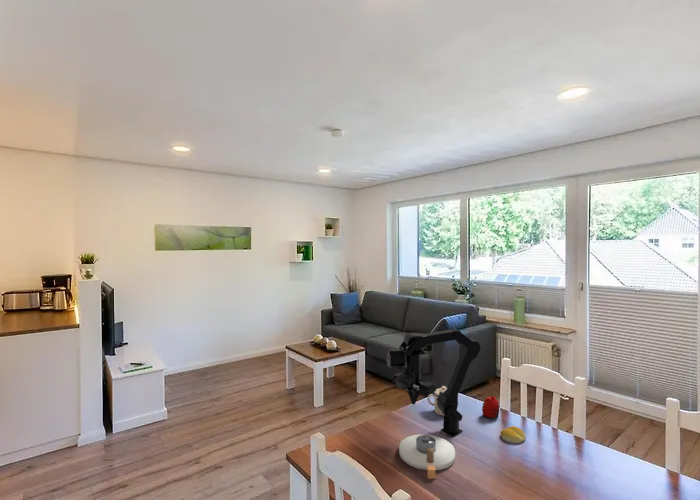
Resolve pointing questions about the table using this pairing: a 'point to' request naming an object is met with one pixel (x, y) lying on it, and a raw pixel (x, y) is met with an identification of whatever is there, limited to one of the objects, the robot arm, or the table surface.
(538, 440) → the table surface
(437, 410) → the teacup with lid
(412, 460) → the turntable
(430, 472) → the pointer block
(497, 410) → the red clay folk toy
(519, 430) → the bread roll
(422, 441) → the cover
